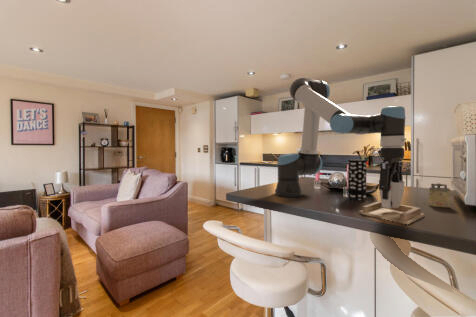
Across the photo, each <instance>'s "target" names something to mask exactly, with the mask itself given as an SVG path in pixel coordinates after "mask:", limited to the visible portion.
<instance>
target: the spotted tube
mask: <svg viewBox="0 0 476 317" xmlns="http://www.w3.org/2000/svg"><path fill="white" fill-rule="evenodd" d="M367 164H368V162H367V159H347V170H348V171H347V173H348V174H347V198H348V199H349V200H355V201H365V200H366V199H367V169H368V168H367Z"/></svg>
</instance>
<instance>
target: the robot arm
mask: <svg viewBox="0 0 476 317" xmlns="http://www.w3.org/2000/svg"><path fill="white" fill-rule="evenodd" d="M330 94H331V90H330V86H329V84H328V83H327V82H326V81H324V80H321V79H314V78H308V77H307V78H306V77H299V78H297V79H295V80H294V81H293V82H292V83H291V84H290V87H289V95H290V97H291V99H293V100H294V101H296V103H300V104H302V106H303V107H304V112H303V113H304V114H303V125H302V134H301V135H302V136H301V149H299V150H298V153H296V152H294V153H285V154H281V155H279V156H278V158H277V183H276V188H275V190H274V192H275V193H274V195H275V196H277V197H281V198H298V197H299V198H300V197H302V196H303V190H302V187H301V184H300V176H312V175H316V174H318V173H320V171H321V170H322V168H323V164H324V163H323V160H322V157H321V156H320V152H319V151H318V142H319V141H318V140H319V129H320V118H322V119H323V121H326V122H327V123H328V124H329V127H330V129H331V131H332V132H334V133H335V134H355V135H369V134H380V140H379V141H380V147H381V148H380V149H379V150H380V151H379V152H380V153H379V155H380V158H384V162H380V163H379V165H380V166H379V168H380V170H379V171H380V172H379V180H378V190H382V207H384V208H389V209H390V207H391V191H389V190H390V185H391V180H392V182H394V183H398V182H399V181H403V178H404V177H403V161H400V159H402V158H403V159H404V157H405V148H404V147H405V141H407V139H406V138H405V136H406V135H405V130H406V128H405V127H406V118H407V117H406V110H405V107H404V106H401V105H394V106H386V107H383V108H381V110H380V113H378V114H373V115H360V114H351V113H349V112H347V111H346V110H345V109H343V108H341V107H340V106H338V105H336V104H335V103H334V102H332V101H330V100H329V99H328V98H329V97H330ZM384 186H385V187H384Z"/></svg>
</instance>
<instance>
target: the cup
mask: <svg viewBox="0 0 476 317" xmlns="http://www.w3.org/2000/svg"><path fill="white" fill-rule="evenodd" d="M405 182H406V181H399V182H398V183H394V182H392V180H391V185H390V190H389V191H391V207H390V208H399V206H400V205H401V203H402V201H403V196H404V192H405ZM384 187H385V186H384ZM378 190H379V189H378ZM379 196H380V201H382V190H379Z"/></svg>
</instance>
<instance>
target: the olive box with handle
mask: <svg viewBox="0 0 476 317" xmlns="http://www.w3.org/2000/svg"><path fill="white" fill-rule="evenodd" d="M436 186H437V187H436ZM447 186H448V184H445V183H444V184H443V183H440V182H439V183H438V182H437V183H431V184H430V187H429V188H428V206H430V207H436V208H450V207H451V203H450V202H451V188H448V187H447Z"/></svg>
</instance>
